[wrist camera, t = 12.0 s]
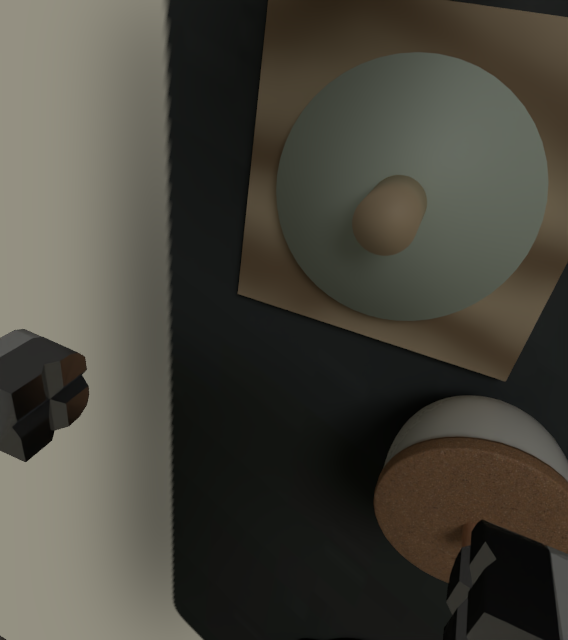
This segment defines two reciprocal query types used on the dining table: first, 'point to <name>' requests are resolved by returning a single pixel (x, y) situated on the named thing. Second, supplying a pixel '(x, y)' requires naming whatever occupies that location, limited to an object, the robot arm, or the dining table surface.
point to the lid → (412, 186)
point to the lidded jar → (470, 481)
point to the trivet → (387, 39)
